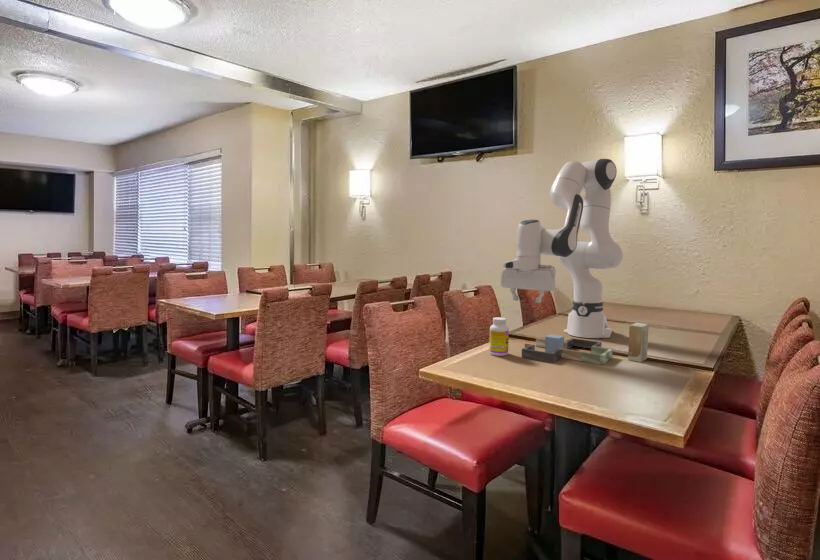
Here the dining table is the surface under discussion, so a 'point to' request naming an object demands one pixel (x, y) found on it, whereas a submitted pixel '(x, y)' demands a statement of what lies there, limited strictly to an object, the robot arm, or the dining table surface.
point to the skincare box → (638, 342)
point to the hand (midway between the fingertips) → (526, 301)
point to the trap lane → (569, 352)
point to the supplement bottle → (499, 337)
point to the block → (553, 343)
